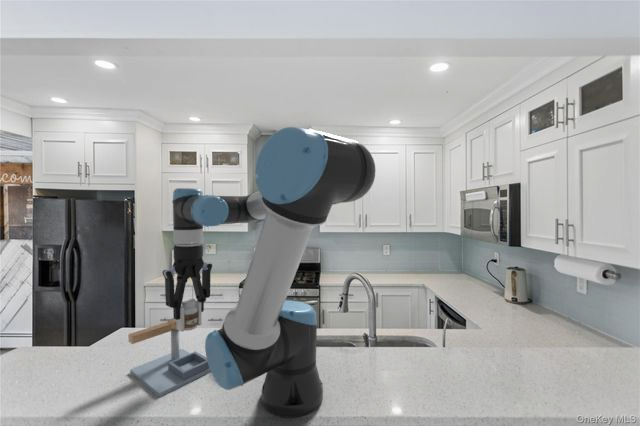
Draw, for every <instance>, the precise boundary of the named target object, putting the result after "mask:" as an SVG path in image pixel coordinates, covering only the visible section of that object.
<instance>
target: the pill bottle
mask: <svg viewBox="0 0 640 426" xmlns="http://www.w3.org/2000/svg"><path fill="white" fill-rule="evenodd" d="M196 301H197V300H196V298H188V299H187V298H186V299H184V300H182V305H181V306H182V307H184V331H183V332H186V331H187V332H188V331H192V330H196V328H198V326H199V325H198V310H197V307H195V305H196Z"/></svg>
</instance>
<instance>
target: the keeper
mask: <svg viewBox="0 0 640 426" xmlns="http://www.w3.org/2000/svg"><path fill="white" fill-rule="evenodd" d="M175 330H177V322H176V319H174V317H173V318H170V319H168V320H167V321H165V322H163V323H159V324H156V325H154V326H150V327H147V328H144V329H140V330H138V331H133V332H130V333H128V342H129V343H130V344H131V345H134V344H137V343H139V342H144V341H146V340H148V339H151V338H154V337H157V336H161V335H163V334H166V333H169V332H170V333H171V331H175Z"/></svg>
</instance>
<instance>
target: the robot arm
mask: <svg viewBox="0 0 640 426" xmlns="http://www.w3.org/2000/svg"><path fill="white" fill-rule="evenodd" d="M254 173H255V174H256V175H257V177H256V178H255V183H256V188H257V189H258V191H255V192H253V193H251V194H248V195H242V196H240V195H239V196H235V195H233V196H232V195H211V194H205V195H204V194H203V191H202V189H200V188H191V187H190V188H187V187H185V188H184V187H183V188H182V187H181V188H178V187H177V188H175V189H174V190H173V192H172V201H171V202H172V216H173V217H172V221H173V222H172V223H173V225H172V226H173V228H172V229H173V233H172V234H173V236H172V237H173V244H175V245H173V264H172V266H171V268H169V269H164V270H162V275H163V278H164V287H165V288H164V291H165V292H164V293H165V295H164V296H165V306H167V307H168V308H171V309H172V310H173V311H172V312H173V315H172V316H173V318H174V319H176V322H177V330H179V332H185V331H184V307H182V301H183V299H184V293H185V288H186V285H187V282H188V280H189V279H191V282H192V286H193V287H192V288H193V290H194V295H195V301H196V305H195V307H197V310H198V325H197V326H198V327H199V326H202V324H203V323H202V313H203V312H204V310H205V302H207V299H208V298H210V297H211V273H212V272H211V271H212V268H213V264H212V263H209V262H204V260H203V257H204V245H203V244H202V243H204V235H203V234H204V229H203V228H204V227H217V226H220V225H232V224H248V223H249V224H257V223H262V222H263V223H262V226H261V230H260V233H259V236H258V238H257V242H256V246H255V249H254V252H253V254H252V258H251V260H250V263H249V267H248V270H247V273H246V276H245V279H244V283H243V286H242V289H241V291H240V294H239V298H238V301H237V304H236V306H235V307H233V308H232V309H231V310H229V311H228V313H226V315H225V318H224V321H223V323H222V326H221V328H219V329H218V330H217V329H214V330H213V331H212V332H209V333H208V334H207V335H206V338H205V342H204V347H205V348H204V350H205V357H206V358H207V361H208V365H209V368H210V370H211V372H210V373H211V375H212V378H213V379H214V380H215V382H216V383H217V384H218V386H219V387H220V388H222V389H224V390H226V391H230V390H233V389H236V388H239V387H242V386H244V385H245V384H248V382H251V381H253V380H254V379H257V378H259V377H260V376H262V375H265V374H266V375H265V377H264V382H263V384H262V387H261V403H262V405H263V407H264V408H265V410H266V411H267V412H269V413H271V414H273V415H275V416H278V417H281V418H297V417H303V416H305V415H308V414H310V413H312V412H314V411H315V410H317V409H318V407H319V406H320V405H321V403H322V402H323V398H324V388H323V387H324V386H323V382H322V380H321V379H320V375H319V371H318V367H317V338H318V337H317V334H318V332H317V330H318V327H317V326H318V322H317V312H316V310H315V308H314V307H313V306H312V305H310V304H308V303H306V302H302V301H296V300H287V297H288V294H289V292H290V289H291V286H292V284H293V282H294V279H295V276H296V273H297V271H298V269H299V266H300V263H301V261H302V259H303V255H304V253H305V251H306V248H307V245H308V243H309V240H310V237H311V235H312V232H313V230H314V228H315V227H318V226H321V225H323V224H325V223H326V221H327V219H328V216H329V213H330V212H331V209H332V207H333V206H334V205H338V204H341V203H351V202H355V201H358V200H360V199H361V198H363V197H364V196H365V195H366V194H368V192H369V191H370V189H371V188H372V186H373V184H374V182H375V178H376V163H375V160H374V158H373V155H372V153H371V152H370V151H369V150H368V148H367V147H366V146H364V145H363V144H362V143H360V142H358V141H356V140H355V139H351V138H346V137H342V136H339V135H338V136H337V135H333V134H331V133H326V132H322V131H319V130H315V129H312V128H310V127H309V128H307V127H305V128H301V127H298V126H297V127H296V126H287V127H283V128H281V129H279V130H278V131H277V132H275V133H272V134H271V135H270V136H269V138H268V139H267V140H266V141H265V142H264V144H262V147H261V149H260V151H259V153H258V156H257V159H256V164H255V171H254ZM201 270H202V271H201ZM175 273H176V275H177V276H176V286H175V278H174V277H175Z"/></svg>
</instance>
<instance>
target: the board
mask: <svg viewBox="0 0 640 426" xmlns="http://www.w3.org/2000/svg"><path fill="white" fill-rule="evenodd" d="M170 349H171V350H170V353H169V354H165V355H164V356H161V357H158V358H156V359H153V360H150V361H147V362H145V363H142V364H140V365H138V366H136V367H132V368H131V369H130V374H131V375H132V376H133V377H134V378H136V380H138V381H139V382H141V384H143V385H144V386H145V387H146V388H147V389H148V390H150V392H152V393H153V394H154V395H155V396H156V397H158V398H161V397H163V396H164V395H167V394H169V393H171V392H173V391H174V390H177V389H179V388H181V387H182V386H185V385H187V384H189V383H190V382H193V381H195V380H197V379H199V378H200V377H203V376H205V375H207V374H209V373H211V370H210V368H209V365H208V361H207V357H206V356H204V355H202V354H201V353H199V352H197V351H193V352H189V351H187V350H185V349H183V348H181V349H180V331H179V330H175V331H170Z"/></svg>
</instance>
